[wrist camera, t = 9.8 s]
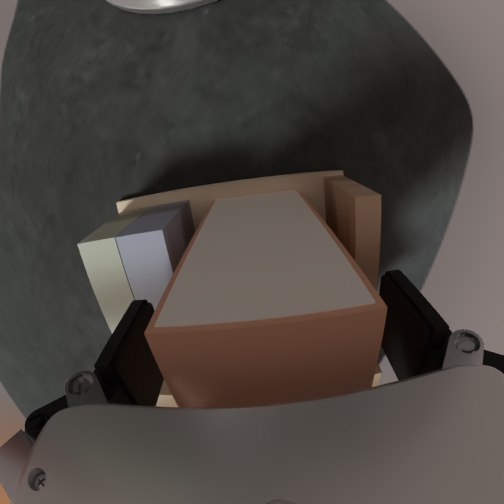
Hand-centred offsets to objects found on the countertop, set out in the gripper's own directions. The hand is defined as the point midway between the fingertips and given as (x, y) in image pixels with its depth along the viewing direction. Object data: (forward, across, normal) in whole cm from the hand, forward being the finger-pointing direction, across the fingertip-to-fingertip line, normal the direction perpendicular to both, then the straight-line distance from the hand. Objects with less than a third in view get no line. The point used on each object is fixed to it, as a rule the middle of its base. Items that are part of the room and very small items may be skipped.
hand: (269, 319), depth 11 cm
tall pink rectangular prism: (+7, 0, 0) cm, 7 cm away
